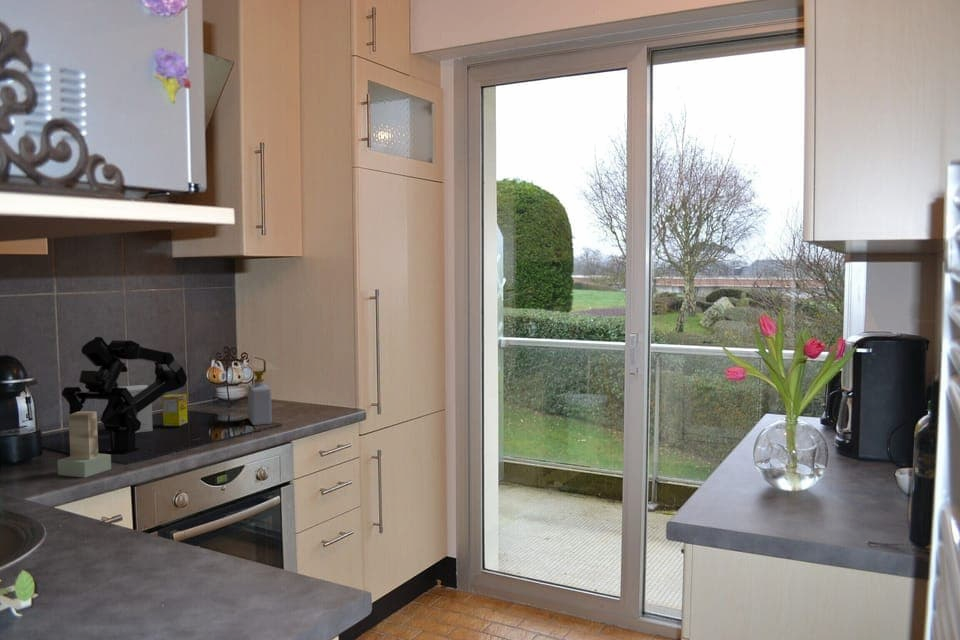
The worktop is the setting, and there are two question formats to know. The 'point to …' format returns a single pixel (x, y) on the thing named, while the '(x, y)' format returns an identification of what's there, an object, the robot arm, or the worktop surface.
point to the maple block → (83, 435)
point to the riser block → (84, 466)
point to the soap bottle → (259, 400)
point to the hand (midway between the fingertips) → (86, 421)
